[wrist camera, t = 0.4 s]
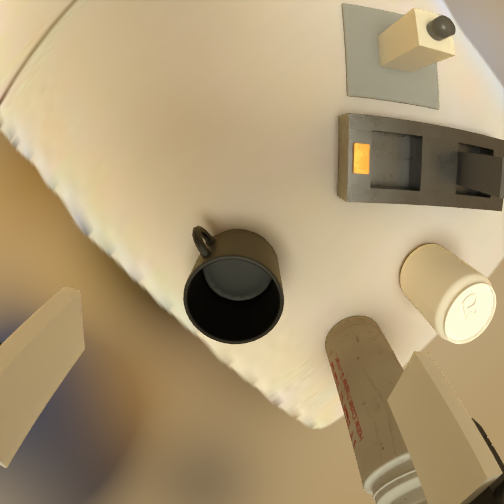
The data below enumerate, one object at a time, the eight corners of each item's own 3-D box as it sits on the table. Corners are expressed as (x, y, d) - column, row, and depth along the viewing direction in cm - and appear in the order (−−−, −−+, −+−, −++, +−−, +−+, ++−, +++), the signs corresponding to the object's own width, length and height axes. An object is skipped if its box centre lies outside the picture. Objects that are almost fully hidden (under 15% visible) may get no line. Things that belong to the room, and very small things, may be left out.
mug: (236, 194, 35) (230, 210, 27) (293, 278, 38) (302, 315, 30) (170, 238, 37) (146, 267, 29) (228, 315, 40) (221, 358, 32)
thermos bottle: (321, 364, 43) (363, 549, 16) (328, 316, 40) (395, 516, 14) (373, 361, 43) (442, 526, 16) (385, 314, 40) (485, 485, 13)
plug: (377, 36, 28) (423, 0, 17) (407, 42, 28) (460, 13, 17) (379, 66, 30) (429, 39, 18) (410, 72, 30) (466, 51, 18)
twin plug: (451, 150, 32) (515, 159, 20) (474, 154, 32) (538, 165, 20) (449, 182, 33) (512, 202, 22) (472, 185, 33) (535, 205, 22)
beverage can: (403, 308, 40) (443, 359, 28) (392, 256, 37) (437, 299, 26) (451, 284, 39) (498, 327, 27) (443, 233, 36) (498, 266, 25)
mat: (341, 4, 27) (342, 3, 27) (430, 23, 27) (431, 22, 27) (347, 95, 31) (347, 95, 31) (437, 109, 31) (439, 109, 31)
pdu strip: (337, 195, 35) (348, 202, 31) (338, 116, 32) (350, 112, 28) (484, 204, 35) (504, 212, 30) (488, 139, 32) (509, 141, 27)
